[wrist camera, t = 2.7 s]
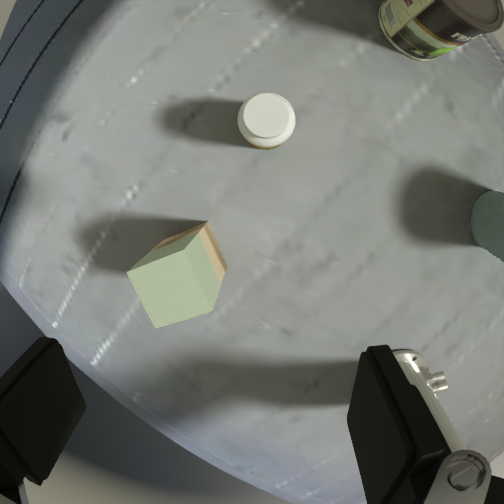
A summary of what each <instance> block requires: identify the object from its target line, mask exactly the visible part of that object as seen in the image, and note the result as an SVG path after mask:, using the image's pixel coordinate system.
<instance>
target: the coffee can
mask: <svg viewBox="0 0 504 504" xmlns="http://www.w3.org/2000/svg"><path fill="white" fill-rule="evenodd" d="M378 18H379V24H380V27H381V29H382V31H383V33H384V35H385V36H386V38H387V39H388V41H389V42H390V43H391V44H392V45H393V46H394V47H395V48H396V49H397V50H399V51H400V52H401V53H403V54H404V55H406V56H408V57H410V58H413V59H416V60H420V61H430V60H434V59H436V58H438V57H439V56H441V55H442V54H444V53H446V52H448V51H450V50H452V49H454V48H456V47H458V46H460V45H463V44H465V43H467V42H469V41H471V40H473V39H475V38H477V37H480V36H482V35H484V34H486V33H489V32H493V31H496V30H498V29H499V28H501V26H502V24H503V22H504V11H503V6H502V3H501V0H386V1H385V2H384V3H383V4H382V5H381V6H380V9H379V13H378Z"/></svg>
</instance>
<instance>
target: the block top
mask: <svg viewBox="0 0 504 504" xmlns="http://www.w3.org/2000/svg"><path fill="white" fill-rule="evenodd" d="M127 274H128V276H129V278H130V281H131V283H132V285H133V287H134V289H135V290H136V292H137V294H138V296H139V298H140V300H141V302H142V304H143V306H144V308H145V310H146V312H147V313H148V315H149V317H150V319H151V321H152V323H153V324H154V326H155V328H158V327H162V326H165V325H169V324H172V323H175V322H179V321H182V320H185V319H189V318H192V317H195V316H199V315H202V314H205V313H208V312H212V311H213V308H214V305H215V302H216V299H217V296H218V293H219V290H220V287H221V283H220V281H219V279H218V276H217V274H216V272H215V270H214V267H213V265H212V263H211V261H210V258H209V256H208V254H207V251H206V249H205V247H204V244H203V242H202V240H201V237H200V235H199V233H197V234H194V235H191V236H189V237H186V238H184V239H181V240H179V241H176V242H174V243H171V244H169V245H166V246H164V247H161V248H159V249H156V250H154V251H151V252H149V253H148V254H146V255H145V256H144V257H143V258H142V259H141V260H140V261H138V262H137V263H136V264H135V265H134V266H133V267H132V268H131V269H129V270H128V271H127Z"/></svg>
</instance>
